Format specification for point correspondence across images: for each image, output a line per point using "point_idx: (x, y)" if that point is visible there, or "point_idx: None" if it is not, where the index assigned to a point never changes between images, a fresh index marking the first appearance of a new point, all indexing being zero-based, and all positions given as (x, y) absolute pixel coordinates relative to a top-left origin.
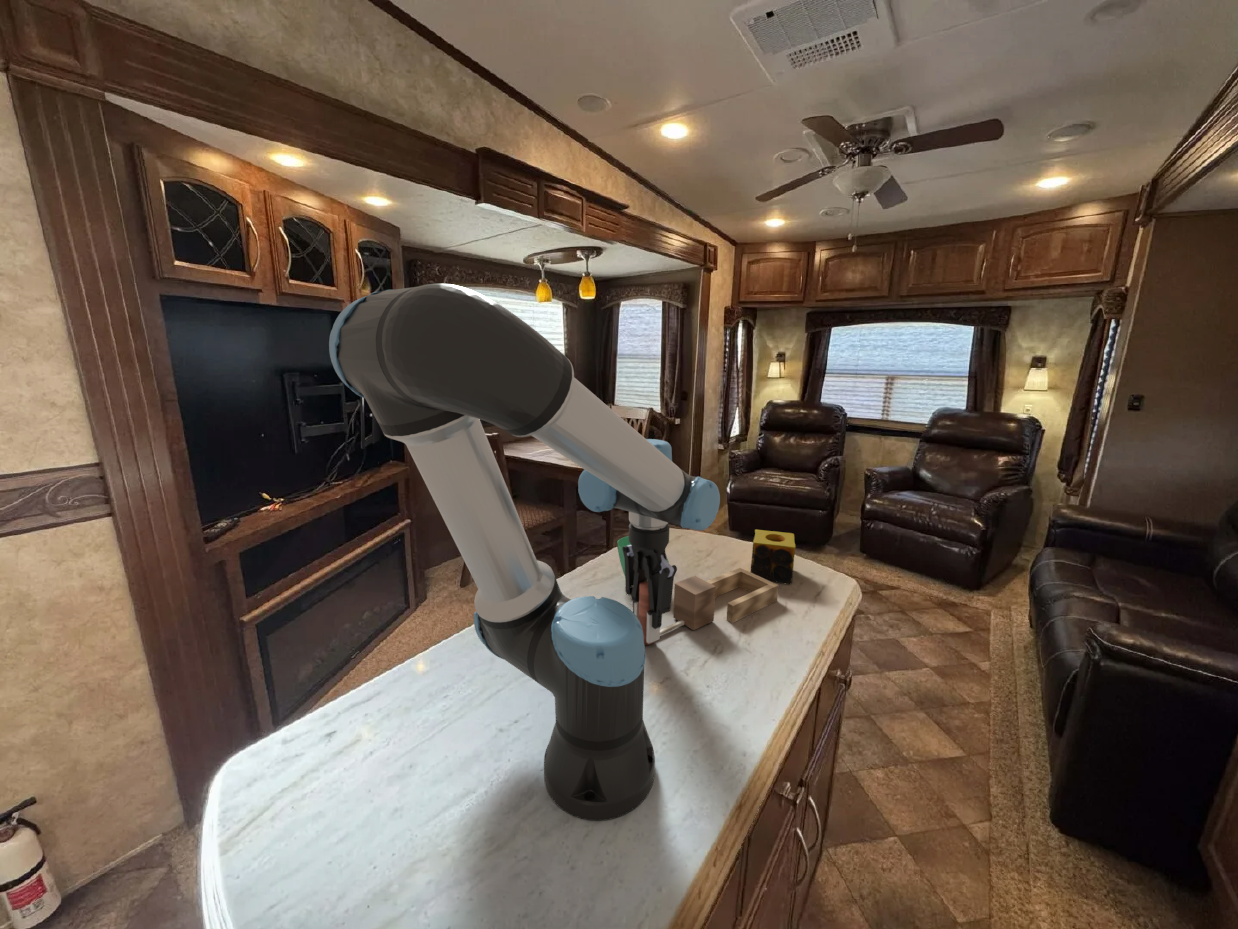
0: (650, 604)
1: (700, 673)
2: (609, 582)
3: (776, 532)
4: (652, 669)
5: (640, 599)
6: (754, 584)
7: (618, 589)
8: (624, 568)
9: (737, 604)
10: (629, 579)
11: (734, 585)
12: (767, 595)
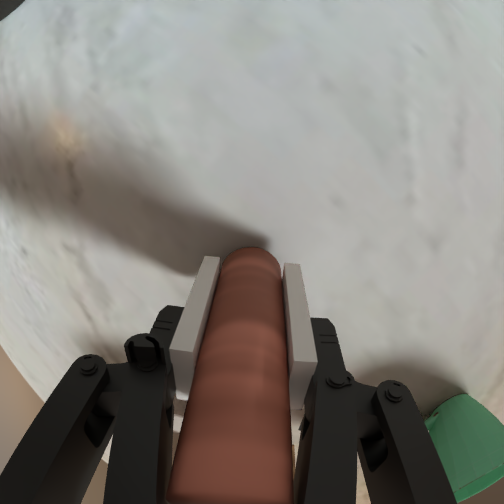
0: (153, 394)
1: (58, 274)
2: (498, 364)
3: None
4: (124, 184)
5: (247, 400)
6: None
7: (473, 366)
8: (484, 417)
9: None
10: (403, 475)
11: None
12: None
